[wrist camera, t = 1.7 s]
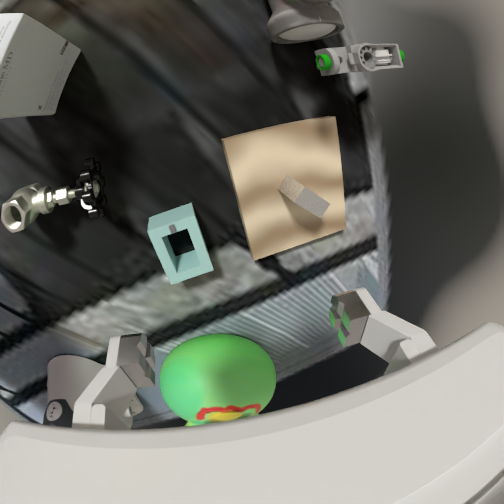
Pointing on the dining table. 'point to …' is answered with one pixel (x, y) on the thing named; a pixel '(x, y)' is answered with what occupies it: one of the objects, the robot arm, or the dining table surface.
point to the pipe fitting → (302, 21)
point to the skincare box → (32, 66)
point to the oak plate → (272, 174)
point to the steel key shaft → (303, 196)
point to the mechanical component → (358, 58)
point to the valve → (55, 198)
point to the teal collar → (173, 265)
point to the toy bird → (217, 379)
